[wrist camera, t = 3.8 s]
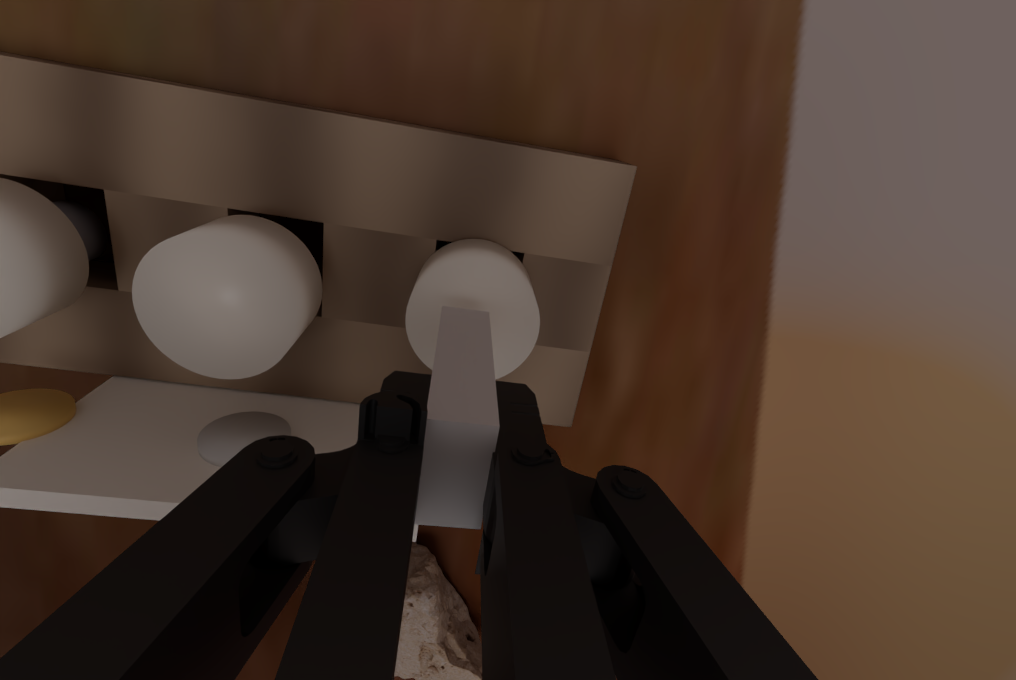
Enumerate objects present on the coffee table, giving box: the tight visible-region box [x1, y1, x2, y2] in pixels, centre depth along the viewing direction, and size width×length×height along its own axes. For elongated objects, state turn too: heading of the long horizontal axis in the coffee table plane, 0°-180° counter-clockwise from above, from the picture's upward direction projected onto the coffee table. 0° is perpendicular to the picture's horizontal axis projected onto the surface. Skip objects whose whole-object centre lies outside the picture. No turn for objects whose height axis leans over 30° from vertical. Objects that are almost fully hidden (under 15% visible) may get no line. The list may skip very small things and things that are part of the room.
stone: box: [394, 542, 482, 680], centre depth 31 cm, size 9×11×5 cm
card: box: [0, 375, 418, 542], centre depth 21 cm, size 19×1×10 cm, turn 81°
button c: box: [405, 239, 540, 380], centre depth 21 cm, size 5×5×6 cm
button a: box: [0, 178, 107, 338], centre depth 17 cm, size 5×5×6 cm
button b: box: [132, 215, 323, 379], centre depth 18 cm, size 5×5×6 cm
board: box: [0, 52, 637, 427], centre depth 22 cm, size 27×12×3 cm, turn 81°
